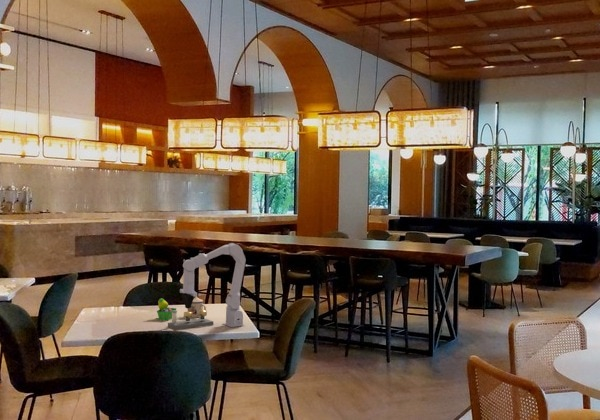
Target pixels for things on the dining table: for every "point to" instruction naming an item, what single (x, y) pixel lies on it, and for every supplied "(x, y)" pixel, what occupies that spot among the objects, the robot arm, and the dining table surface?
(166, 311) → the fruit basket
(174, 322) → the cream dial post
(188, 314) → the brass knob
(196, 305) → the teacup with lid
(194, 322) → the slate panel
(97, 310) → the dining table surface
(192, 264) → the robot arm
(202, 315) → the brass knob
